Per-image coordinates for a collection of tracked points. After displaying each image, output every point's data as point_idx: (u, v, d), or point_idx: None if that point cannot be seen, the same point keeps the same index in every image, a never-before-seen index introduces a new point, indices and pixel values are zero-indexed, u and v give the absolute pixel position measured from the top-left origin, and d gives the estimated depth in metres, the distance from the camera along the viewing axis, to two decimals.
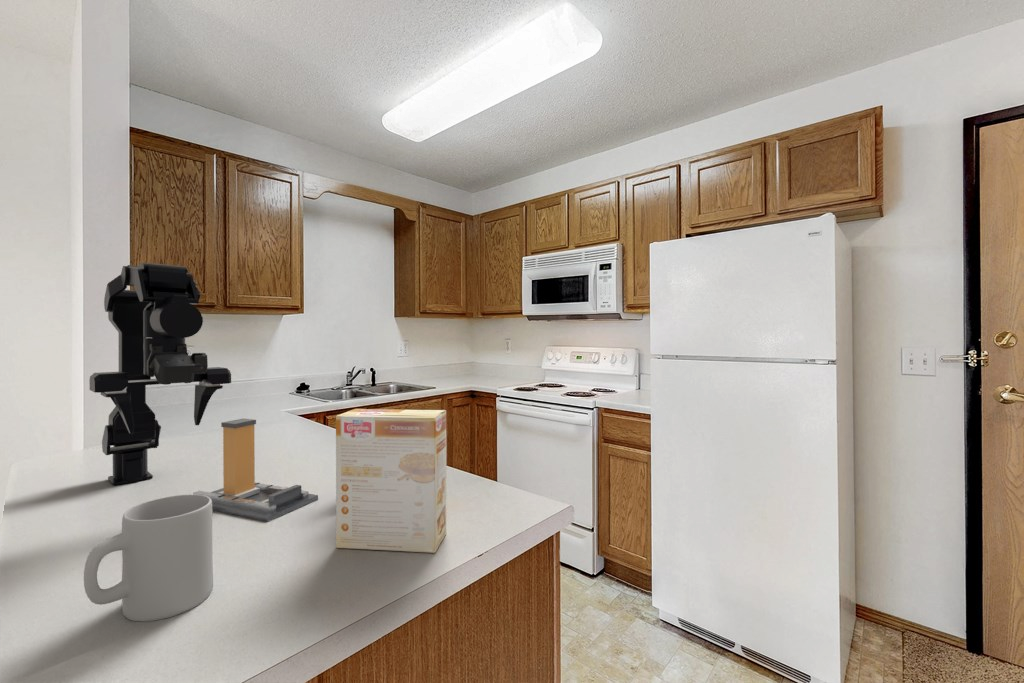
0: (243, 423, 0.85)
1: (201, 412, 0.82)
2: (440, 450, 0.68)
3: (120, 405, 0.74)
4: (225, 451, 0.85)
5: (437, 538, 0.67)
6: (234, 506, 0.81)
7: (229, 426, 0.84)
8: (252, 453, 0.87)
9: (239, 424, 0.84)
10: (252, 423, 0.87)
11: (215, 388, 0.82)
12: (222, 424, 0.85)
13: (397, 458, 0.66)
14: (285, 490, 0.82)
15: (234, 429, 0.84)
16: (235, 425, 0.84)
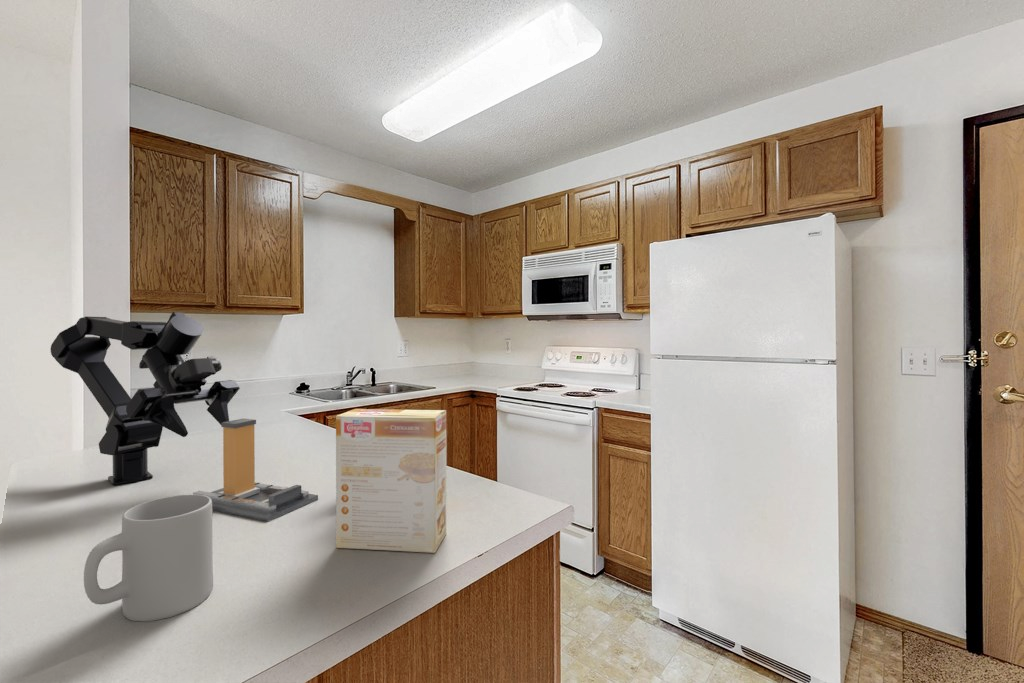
0: (243, 423, 0.85)
1: (226, 414, 0.93)
2: (440, 450, 0.68)
3: (168, 411, 0.84)
4: (225, 451, 0.85)
5: (437, 538, 0.67)
6: (234, 506, 0.81)
7: (229, 426, 0.84)
8: (252, 453, 0.87)
9: (239, 424, 0.84)
10: (252, 423, 0.87)
11: (228, 391, 0.95)
12: (222, 424, 0.85)
13: (397, 458, 0.66)
14: (285, 490, 0.82)
15: (234, 429, 0.84)
16: (235, 425, 0.84)
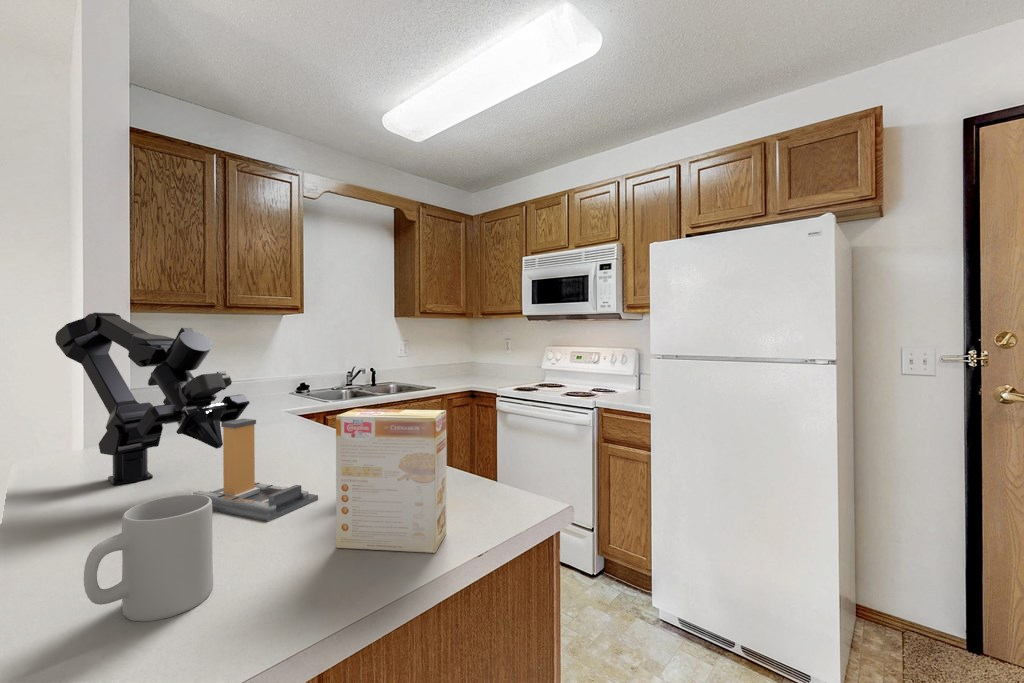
0: (243, 423, 0.85)
1: (219, 433, 0.89)
2: (440, 450, 0.68)
3: (201, 424, 0.87)
4: (225, 451, 0.85)
5: (437, 538, 0.67)
6: (234, 506, 0.81)
7: (229, 426, 0.84)
8: (252, 453, 0.87)
9: (239, 424, 0.84)
10: (252, 423, 0.87)
11: (220, 409, 0.91)
12: (222, 424, 0.85)
13: (397, 458, 0.66)
14: (285, 490, 0.82)
15: (234, 429, 0.84)
16: (235, 425, 0.84)
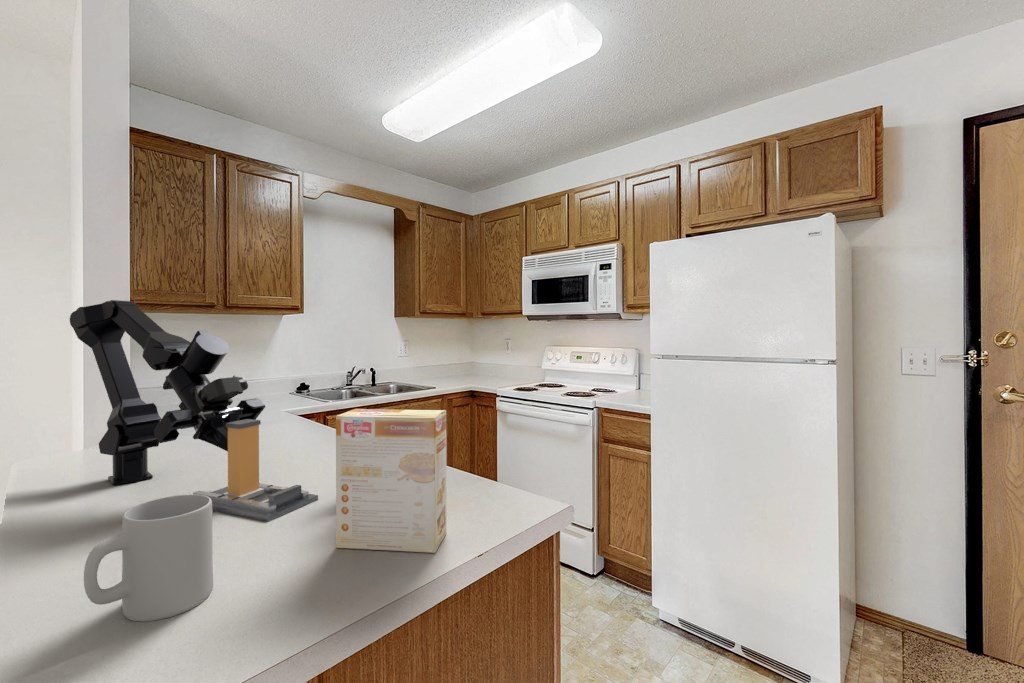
0: (248, 423, 0.85)
1: None
2: (440, 450, 0.68)
3: (218, 429, 0.86)
4: (230, 452, 0.84)
5: (437, 538, 0.67)
6: (234, 506, 0.81)
7: (234, 426, 0.84)
8: (257, 454, 0.87)
9: (244, 424, 0.84)
10: (256, 423, 0.87)
11: (237, 414, 0.90)
12: (226, 424, 0.84)
13: (397, 458, 0.66)
14: (285, 490, 0.82)
15: (238, 430, 0.83)
16: (240, 425, 0.83)
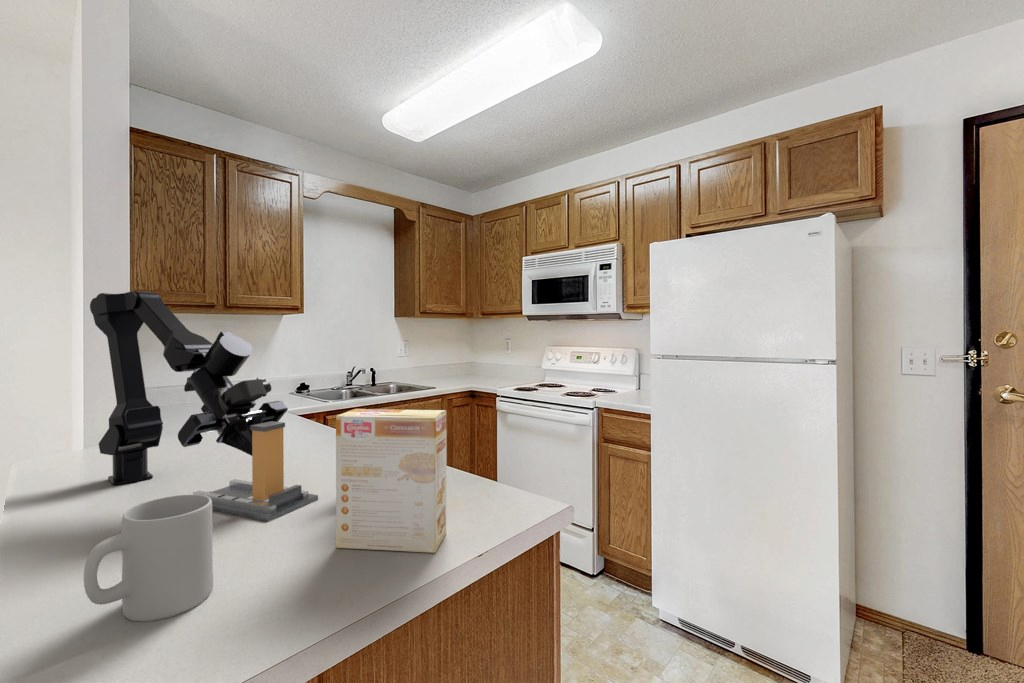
0: (273, 426, 0.82)
1: None
2: (440, 450, 0.68)
3: (242, 432, 0.83)
4: (254, 455, 0.82)
5: (437, 538, 0.67)
6: (234, 506, 0.81)
7: (258, 429, 0.81)
8: (281, 457, 0.85)
9: (269, 427, 0.82)
10: (281, 426, 0.84)
11: (260, 417, 0.87)
12: (251, 427, 0.82)
13: (397, 458, 0.66)
14: (285, 490, 0.82)
15: (263, 433, 0.81)
16: (265, 428, 0.81)
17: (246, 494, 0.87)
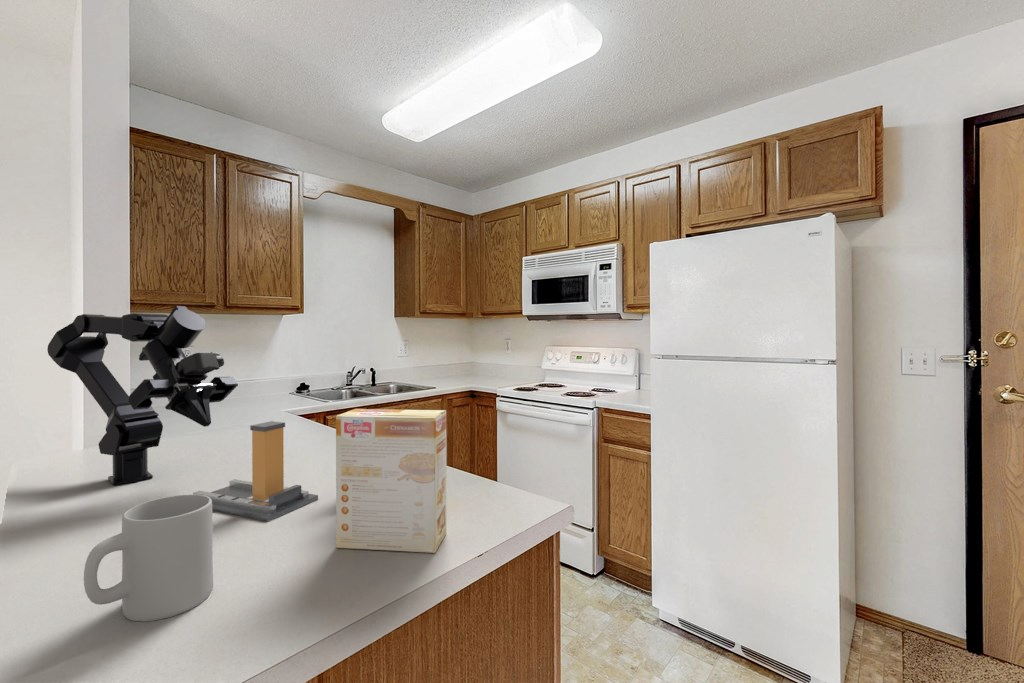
0: (273, 426, 0.82)
1: (208, 412, 0.91)
2: (440, 450, 0.68)
3: (192, 401, 0.89)
4: (254, 455, 0.82)
5: (437, 538, 0.67)
6: (234, 506, 0.81)
7: (258, 429, 0.81)
8: (281, 457, 0.85)
9: (269, 427, 0.82)
10: (281, 426, 0.84)
11: (211, 389, 0.93)
12: (251, 427, 0.82)
13: (397, 458, 0.66)
14: (285, 490, 0.82)
15: (263, 433, 0.81)
16: (265, 428, 0.81)
17: (246, 494, 0.87)
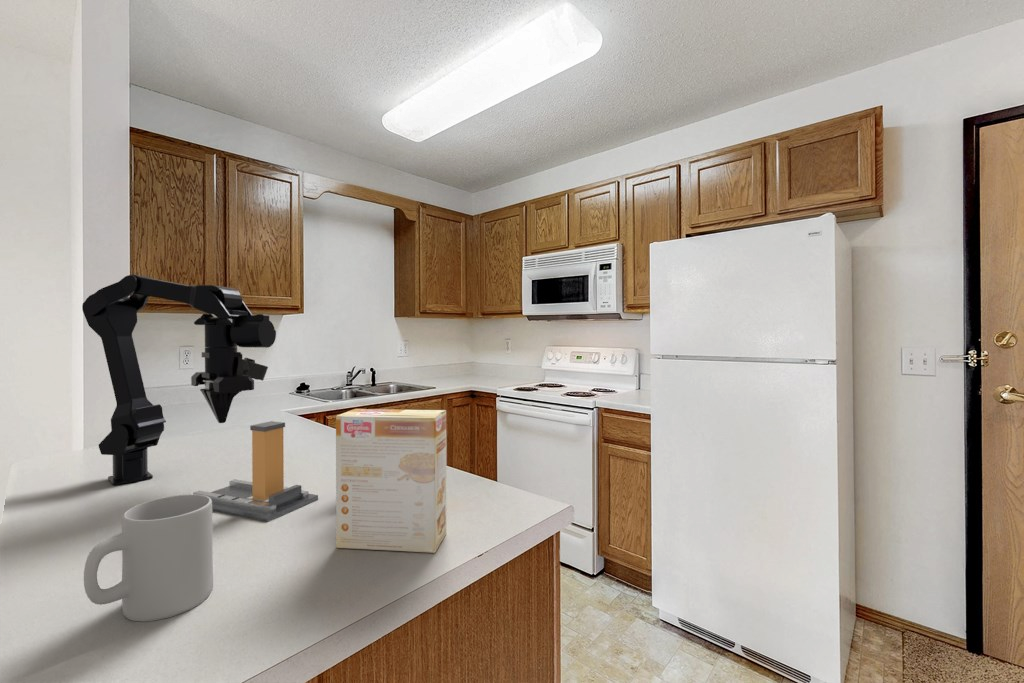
0: (273, 426, 0.82)
1: None
2: (440, 450, 0.68)
3: (232, 399, 0.95)
4: (254, 455, 0.82)
5: (437, 538, 0.67)
6: (234, 506, 0.81)
7: (258, 429, 0.81)
8: (281, 457, 0.85)
9: (269, 427, 0.82)
10: (281, 426, 0.84)
11: None
12: (251, 427, 0.82)
13: (397, 458, 0.66)
14: (285, 490, 0.82)
15: (263, 433, 0.81)
16: (265, 428, 0.81)
17: (246, 494, 0.87)
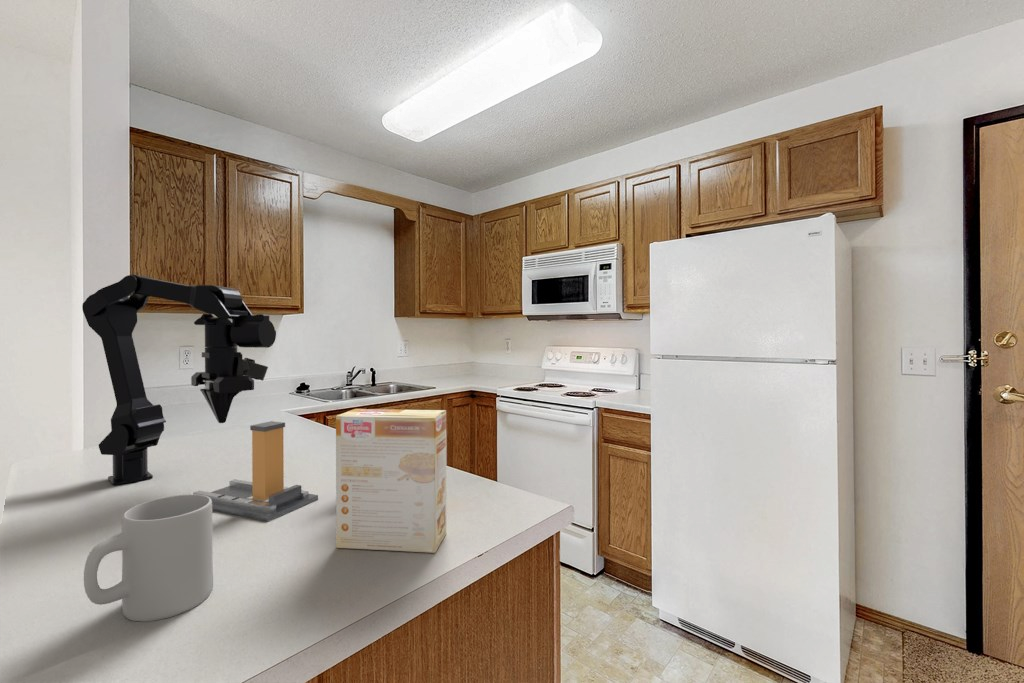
0: (273, 426, 0.82)
1: None
2: (440, 450, 0.68)
3: (232, 399, 0.95)
4: (254, 455, 0.82)
5: (437, 538, 0.67)
6: (234, 506, 0.81)
7: (258, 429, 0.81)
8: (281, 457, 0.85)
9: (269, 427, 0.82)
10: (281, 426, 0.84)
11: None
12: (251, 427, 0.82)
13: (397, 458, 0.66)
14: (285, 490, 0.82)
15: (263, 433, 0.81)
16: (265, 428, 0.81)
17: (246, 494, 0.87)
